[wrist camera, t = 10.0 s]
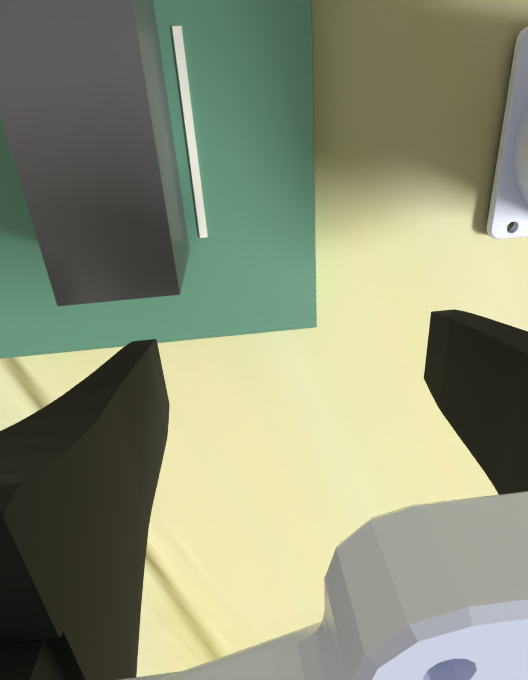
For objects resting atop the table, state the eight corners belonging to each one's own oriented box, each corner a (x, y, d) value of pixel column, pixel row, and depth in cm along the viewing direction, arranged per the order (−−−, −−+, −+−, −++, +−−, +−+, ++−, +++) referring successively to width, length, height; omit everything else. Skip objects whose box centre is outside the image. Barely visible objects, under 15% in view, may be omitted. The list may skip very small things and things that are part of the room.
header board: (300, -145, 14) (331, -244, 10) (310, 313, 22) (331, 359, 18) (-156, -123, 14) (-310, -220, 10) (13, 343, 21) (-36, 397, 17)
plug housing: (130, -154, 13) (84, -294, 8) (189, 250, 18) (180, 294, 14) (-2, -147, 13) (-121, -287, 8) (97, 258, 18) (57, 306, 14)
